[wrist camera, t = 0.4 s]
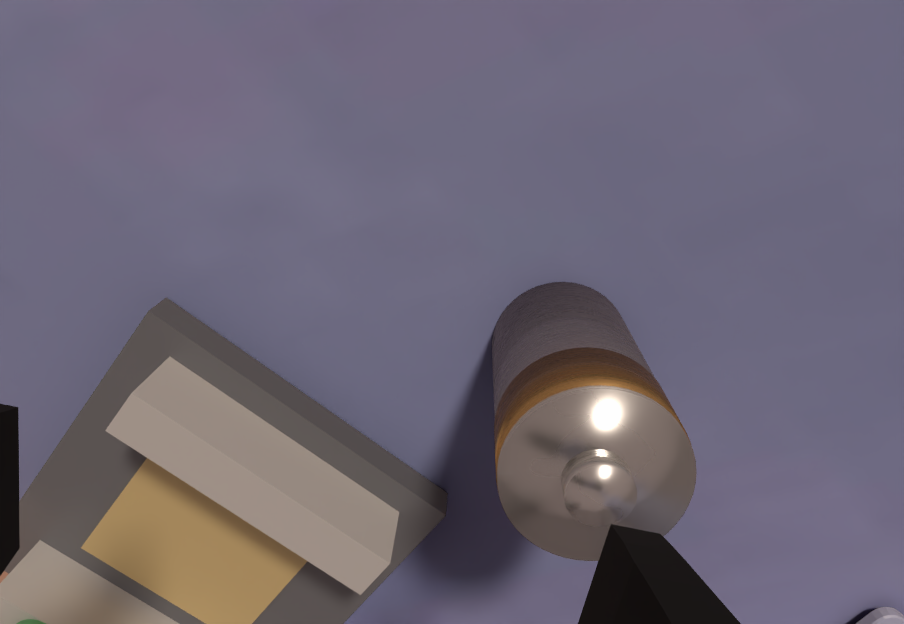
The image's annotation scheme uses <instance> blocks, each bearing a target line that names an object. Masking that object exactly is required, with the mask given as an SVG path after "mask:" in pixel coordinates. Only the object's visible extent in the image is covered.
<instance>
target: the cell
mask: <svg viewBox="0 0 904 624" xmlns="http://www.w3.org/2000/svg"><path fill="white" fill-rule="evenodd" d="M492 362H493V387H494V411H495V422H494V436H495V463H496V483H497V488H498V493H499V498H500V501H501V504H502V506H503V509H504V511H505V513H506V515H507V517H508V519H509V520H510V521H511V523H512V524H513V525H514V527H515V528H516V529H517V530H518V531H519V532H520V533H521V534H522V535H523V536H524V537H525V538H527V539H528V540H529V541H530V542H532V543H533V544H535V545H536V546H538V547H540V548H541V549H543V550H546V551H548V552H550V553H552V554H555V555H558V556H561V557H565V558H570V559H575V560H584V561H599V558H600V555H601V552H602V549H603V546H604V543H605V540H606V537H607V534H608V531H609V528H610V525H611V524H614V525H619V526H624V527H629V528H634V529H639V530H644V531H649V532H654V533H659V534H661V535H662V536H664V535H666V534H667V533H668V532H669V531H670V530H671V529H672V528H673V527H674V526H675V525H676V524H677V522H678V521H679V520H680V518H681V517H682V516H683V514H684V513H685V511H686V509H687V507H688V505H689V503H690V501H691V498H692V495H693V492H694V488H695V483H696V461H695V457H694V452H693V449H692V446H691V443H690V440H689V438H688V436H687V433H686V431H685V429H684V428H683V426H682V424H681V422H680V420H679V418H678V417H677V415H676V413H675V411H674V409H673V408H672V406H671V404H670V402H669V400H668V399H667V397H666V395H665V393H664V391H663V390H662V388H661V386H660V385H659V383H658V382H657V380H656V379H655V377H654V375H653V373H652V372H651V370H650V368H649V366H648V364H647V362H646V361H645V359H644V357H643V355H642V353H641V352H640V350H639V348H638V346H637V344H636V342H635V341H634V339H633V337H632V335H631V333H630V331H629V330H628V328H627V326H626V324H625V322H624V320H623V319H622V317H621V315H620V313H619V312H618V310H617V309H616V307H615V306H614V305H613V304H612V303H611V302H610V301H609V300H608V299H607V298H606V297H605V296H603V295H602V294H601V293H599V292H598V291H596V290H594V289H592V288H590V287H587V286H584V285H581V284H576V283H570V282H554V283H547V284H543V285H540V286H536V287H534V288H532V289H530V290H528V291H526V292H524V293H522V294H521V295H519V296H518V297H517V298H516V299H514V300H513V301H512V302H511V303H510V304H509V305H508V306H507V307H506V309H505V310H504V311H503V313H502V314H501V316H500V318H499V319H498V321H497V324H496V326H495V329H494V333H493V338H492Z"/></svg>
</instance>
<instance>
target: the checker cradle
mask: <svg viewBox="0 0 904 624" xmlns="http://www.w3.org/2000/svg"><path fill="white" fill-rule="evenodd" d="M447 495H448V493H446V492H445V491H444V490H442V489H441V488H439V487H438V486H436V485H435V484H434V483H432V482H431V481H429V480H428V479H426V478H425V477H423V476H422V475H421V474H419V473H418V472H416V471H415V470H413V469H412V468H411V467H409V466H408V465H406V464H405V463H403V462H402V461H400V460H399V459H398V458H396V457H395V456H393V455H392V454H390V453H389V452H388V451H386V450H385V449H383V448H382V447H380V446H379V445H377V444H376V443H375V442H373V441H372V440H370V439H369V438H367V437H366V436H365V435H363V434H362V433H360V432H359V431H357V430H356V429H354V428H353V427H352V426H350V425H349V424H347V423H346V422H344V421H343V420H342V419H340V418H339V417H337V416H336V415H334V414H333V413H331V412H330V411H329V410H327V409H326V408H324V407H323V406H321V405H320V404H319V403H317V402H316V401H314V400H313V399H311V398H310V397H308V396H307V395H306V394H304V393H303V392H301V391H300V390H298V389H297V388H296V387H294V386H293V385H291V384H290V383H288V382H287V381H285V380H284V379H283V378H281V377H280V376H278V375H277V374H275V373H274V372H273V371H271V370H270V369H268V368H267V367H265V366H264V365H262V364H261V363H260V362H258V361H257V360H255V359H254V358H252V357H251V356H250V355H248V354H247V353H245V352H244V351H242V350H241V349H239V348H238V347H237V346H235V345H234V344H232V343H231V342H229V341H228V340H227V339H225V338H224V337H222V336H221V335H219V334H218V333H216V332H215V331H214V330H212V329H211V328H209V327H208V326H206V325H205V324H204V323H202V322H201V321H199V320H198V319H196V318H195V317H193V316H192V315H191V314H189V313H188V312H186V311H185V310H183V309H182V308H181V307H179V306H178V305H176V304H175V303H173V302H172V301H170V300H169V299H168V298H165V299H164V300H162V301H161V302H160V303H158V304H157V305H156V306H154V307H153V308H152V309H150V310H149V311H148V313H147V314H146V316H145V317H144V318H143V320H142V321H141V323H140V324H139V326H138V327H137V329H136V330H135V332H134V333H133V335H132V336H131V338H130V339H129V341H128V342H127V344H126V345H125V347H124V348H123V349H122V351H121V352H120V354H119V355H118V357H117V358H116V360H115V361H114V363H113V364H112V366H111V367H110V369H109V370H108V372H107V373H106V375H105V376H104V378H103V379H102V380H101V382H100V383H99V385H98V386H97V388H96V389H95V391H94V392H93V394H92V395H91V397H90V398H89V400H88V401H87V403H86V404H85V406H84V407H83V409H82V410H81V411H80V413H79V414H78V416H77V417H76V419H75V420H74V422H73V423H72V425H71V426H70V428H69V429H68V431H67V432H66V434H65V435H64V437H63V438H62V440H61V441H60V442H59V444H58V445H57V447H56V448H55V450H54V451H53V453H52V454H51V456H50V457H49V459H48V460H47V462H46V463H45V465H44V466H43V468H42V469H41V471H40V472H39V473H38V475H37V476H36V478H35V479H34V481H33V482H32V484H31V485H30V487H29V488H28V490H27V491H26V493H25V494H24V496H23V497H22V499H21V500H20V501H19V535H20V549H19V550H18V551H17V553H16V554H15V556H14V557H13V559H12V560H11V562H10V563H9V564H8V566H7V567H6V569H5V570H4V571H5V572H7V573H8V575H7V577H6V578H5V579H4V580H3V581H2V582H1V583H0V624H343V623H344V622H345V621H346V620H347V619H348V618H349V617H350V616H351V615H352V614H353V613H354V612H355V611H356V610H357V608H358V607H359V606H360V605H361V604H362V603H363V602H364V601H365V600H366V599H367V598H368V597H369V596H370V595H371V594H372V593H373V592H374V591H375V590H376V588H377V587H378V586H379V585H380V584H381V583H382V582H383V581H384V580H385V579H386V578H387V577H388V576H389V575H390V574H391V573H392V572H393V571H394V570H395V569H396V567H397V566H398V565H399V564H400V563H401V562H402V561H403V560H404V559H405V558H406V557H407V556H408V555H409V554H410V553H411V552H412V551H413V550H414V549H415V547H416V546H417V545H418V544H419V543H420V542H421V541H422V540H423V539H424V538H425V537H426V536H427V535H428V534H429V533H430V532H431V531H432V530H433V529H434V527H435V526H436V525H437V524H438V523H439V522H440V521H441V520H442V519H443V518H444V517H445V516H446V508H447Z"/></svg>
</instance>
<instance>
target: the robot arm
mask: <svg viewBox="0 0 904 624" xmlns="http://www.w3.org/2000/svg"><path fill="white" fill-rule="evenodd" d="M19 549H20V535H19V440H18V407H14V406H9V405H4V404H0V576H1V575H2V573H3V572H4V570H5V569H6V567H7V566H8V564H9V563H10V562H11V560H12V559H13V557H14V556H15V554H16V553H17V551H18V550H19ZM578 624H740V622H739V621H738V620H737V619H736V618H735V617H734V616H733V614H732V613H731V612H730V611H729V610H728V609H727V608H726V606H725V605H724V604H723V603H722V602H721V601H720V600H719V598H718V597H717V596H716V595H715V594H714V593H713V592H712V590H711V589H710V588H709V587H708V586H707V585H706V584H705V582H704V581H703V580H702V579H701V578H700V577H699V575H698V574H697V573H696V572H695V571H694V570H693V569H692V568H691V566H690V565H689V564H688V563H687V562H686V561H685V560H684V559H683V557H682V556H681V555H680V554H679V553H678V552H677V551H676V550H675V549H674V548H673V546H672V545H671V544H670V543H669V542H668V541H667V540H666V539H665V538H664V537H663V536H662V535H661V534H659V533H654V532H649V531H644V530H639V529H634V528H629V527H624V526H619V525H614V524H611V525H610V528H609V531H608V534H607V537H606V540H605V543H604V546H603V549H602V552H601V555H600V558H599V561H598V564H597V567H596V571H595V574H594V577H593V580H592V583H591V586H590V589H589V592H588V595H587V598H586V601H585V604H584V607H583V610H582V613H581V616H580V619H579V622H578ZM856 624H904V615H903V614H902V613H900V612H899V611H898V610H896V609H894V608H891V607H881V608H877V609H875V610H873V611H871V612H870V613H869V614H868V615H866V616H865V617H864V618H862V619H861V620H860V621H858V622H857V623H856Z"/></svg>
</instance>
